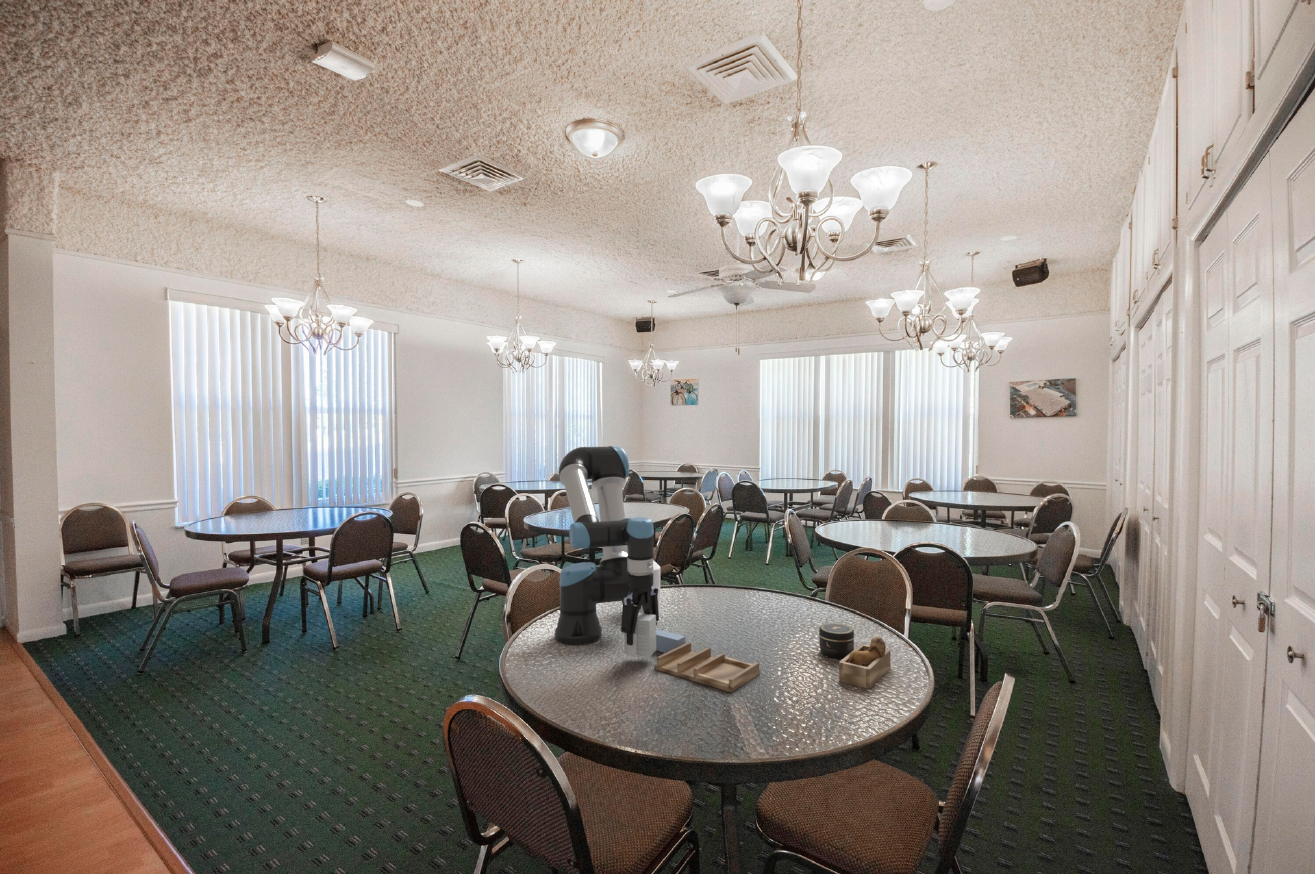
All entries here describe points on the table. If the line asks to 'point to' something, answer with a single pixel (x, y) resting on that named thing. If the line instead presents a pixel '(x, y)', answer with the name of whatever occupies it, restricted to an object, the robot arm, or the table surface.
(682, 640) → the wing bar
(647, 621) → the small box
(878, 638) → the lion figurine
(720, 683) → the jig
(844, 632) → the jar
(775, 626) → the table surface
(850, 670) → the open wooden box
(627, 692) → the table surface
